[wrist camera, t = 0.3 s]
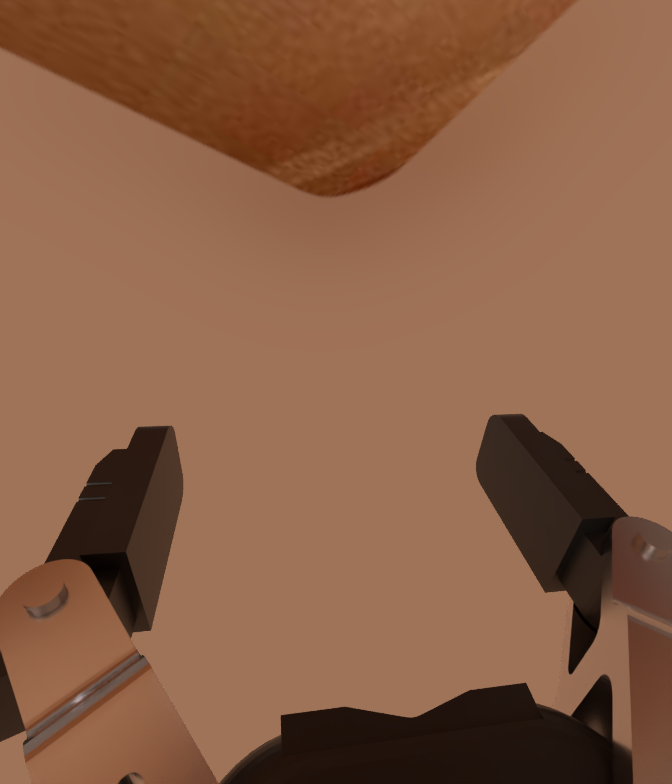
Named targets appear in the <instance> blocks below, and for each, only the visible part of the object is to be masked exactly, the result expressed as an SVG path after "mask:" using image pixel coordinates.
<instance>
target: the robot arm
mask: <svg viewBox="0 0 672 784" xmlns="http://www.w3.org/2000/svg"><path fill="white" fill-rule="evenodd" d="M574 459H575V458H574V457H573V456H572V455H571V454H570V453H569V452H568V451H567V450H566V449H565V448H564V446H563V445H562V444H560V443H559V442H557V441H556V440H554V439H553V438H551V437H550V436H548V435H546V434H545V433H543V432H539V431H538V430H537V428H536V427H535V426H534V425H533V424H532V423H531V422H530V421H529V420H528V418H527V417H525V416H524V415H523V414H508V415H492V416H491V417H490V418H489V420H488V423H487V426H486V430H485V433H484V436H483V440H482V444H481V447H480V450H479V454H478V457H477V461H476V472H477V477H478V480H479V482H480V484H481V486H482V488H483V489H484V491H485V493H486V494H487V496H488V498H489V499H490V501H491V503H492V504H493V506H494V508H495V509H496V511H497V513H498V514H499V516H500V517H501V519H502V521H503V523H504V524H505V526H506V528H507V529H508V531H509V533H510V535H511V536H512V538H513V540H514V541H515V543H516V545H517V546H518V548H519V549H520V551H521V553H522V555H523V556H524V558H525V559H526V561H527V563H528V564H529V566H530V568H531V570H532V571H533V573H534V575H535V576H536V578H537V580H538V581H539V583H540V584H541V586H542V588H543V590H544V591H545V593H546V592H556V591H565V590H566V591H567V592H568V594H569V596H570V597H571V600H570V602H569V604H568V605H567V610H566V619H565V629H564V640H563V650H562V660H561V671H560V681H559V686H558V690H557V694H556V697H555V700H554V702H553V705H552V708H550V707H546V706H543V705H540V704H536V703H535V701H534V699H533V697H532V694H531V692H530V690H529V688H528V686H527V684H526V683H521V684H513V685H506V686H498V687H491V688H483V689H476V690H469V691H467V692H465V693H463V694H461V695H460V696H457V697H456V698H454V699H452V700H449V701H448V702H445V703H444V704H442V705H440V706H438V707H436V708H434V709H432V710H430V711H428V712H426V713H424V714H422V715H420V716H417V717H413V718H408V717H401V716H395V715H389V714H384V713H377V712H371V711H366V710H361V709H355V708H349V707H340V708H332V709H325V710H318V711H310V712H302V713H295V714H287V715H281V735H280V736H278V737H276V738H274V739H272V740H269V741H268V742H266V743H264V744H263V745H261V746H260V747H258V748H257V749H255V750H254V751H252V752H251V753H249V754H248V755H247V756H246V757H245V758H244V759H242V760H241V761H240V762H239V763H238V764H236V765H235V767H234V768H233V769H232V770H231V771H230V772H229V773H228V774H227V775H226V776H225V777H224V778H223V780H221V782H220V783H218V782H217V780H216V778H215V777H214V775H213V773H212V771H211V770H210V768H209V766H208V765H207V763H206V761H205V759H204V757H203V756H202V754H201V752H200V750H199V749H198V747H197V745H196V743H195V742H194V740H193V738H192V737H191V735H190V733H189V731H188V730H187V728H186V726H185V724H184V723H183V721H182V719H181V717H180V716H179V714H178V712H177V710H176V709H175V707H174V705H173V703H172V702H171V700H170V698H169V696H168V695H167V693H166V691H165V689H164V688H163V686H162V684H161V683H160V681H159V679H158V678H157V676H156V674H155V672H154V671H153V669H152V667H151V665H150V664H149V662H148V661H147V659H146V658H145V657H144V656H143V655H142V656H141V655H140V654H139V652H138V651H137V649H136V647H135V646H134V644H133V642H132V640H131V636H132V633H133V632H141V631H150V630H151V628H152V623H153V620H154V615H155V611H156V607H157V603H158V599H159V594H160V590H161V586H162V581H163V577H164V573H165V569H166V565H167V561H168V556H169V552H170V548H171V544H172V539H173V535H174V531H175V527H176V523H177V518H178V514H179V510H180V506H181V502H182V496H183V474H182V469H181V464H180V458H179V452H178V447H177V442H176V437H175V432H174V429H173V427H172V426H152V427H138V428H137V429H136V430H135V433H134V435H133V437H132V439H131V442H130V444H129V446H128V448H127V449H115V450H112V451H111V452H110V453H109V454H108V455H107V456H106V457H104V458H103V459H102V460H101V461H100V462H99V463H98V464H97V465H96V466H95V468H94V470H93V471H92V474H91V475H90V477H89V479H88V481H87V486H86V487H84V489H83V491H82V493H81V494H80V496H79V501H78V502H76V504H75V506H74V508H73V510H72V512H71V514H70V516H69V517H68V519H67V521H66V523H65V525H64V527H63V529H62V531H61V533H60V535H59V537H58V539H57V540H56V542H55V544H54V546H53V548H52V550H51V552H50V554H49V556H48V558H47V560H46V561H45V563H44V564H43V565H40V566H38V567H36V568H33V569H32V570H30V571H28V572H26V573H25V574H23V575H22V576H21V577H19V578H18V579H17V580H16V581H14V582H13V583H12V584H11V585H10V586H9V587H8V588H7V589H6V590H5V591H4V593H3V594H2V595H1V597H0V742H1V741H3V740H5V739H7V738H10V737H12V736H14V735H16V734H19V733H21V732H23V731H25V730H26V735H27V740H25V741H24V742H23V752H24V757H25V762H26V765H27V769H28V773H29V776H30V779H31V783H32V784H672V532H671V531H670V530H668V529H667V528H665V527H663V526H661V525H659V524H657V523H655V522H652V521H650V520H647V519H643V518H639V517H629V516H628V515H627V514H626V513H625V512H624V511H623V509H621V507H620V506H619V505H617V503H616V502H615V501H614V500H613V499H612V498H611V497H610V496H609V495H608V493H607V492H606V491H605V490H604V489H603V488H602V487H601V486H600V485H599V484H598V483H597V482H596V481H595V480H594V479H593V477H592V476H591V475H590V474H589V473H586V472H585V469H584V468H583V467H582V466H581V465H580V464H579V462H578V461H575V460H574Z"/></svg>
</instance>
